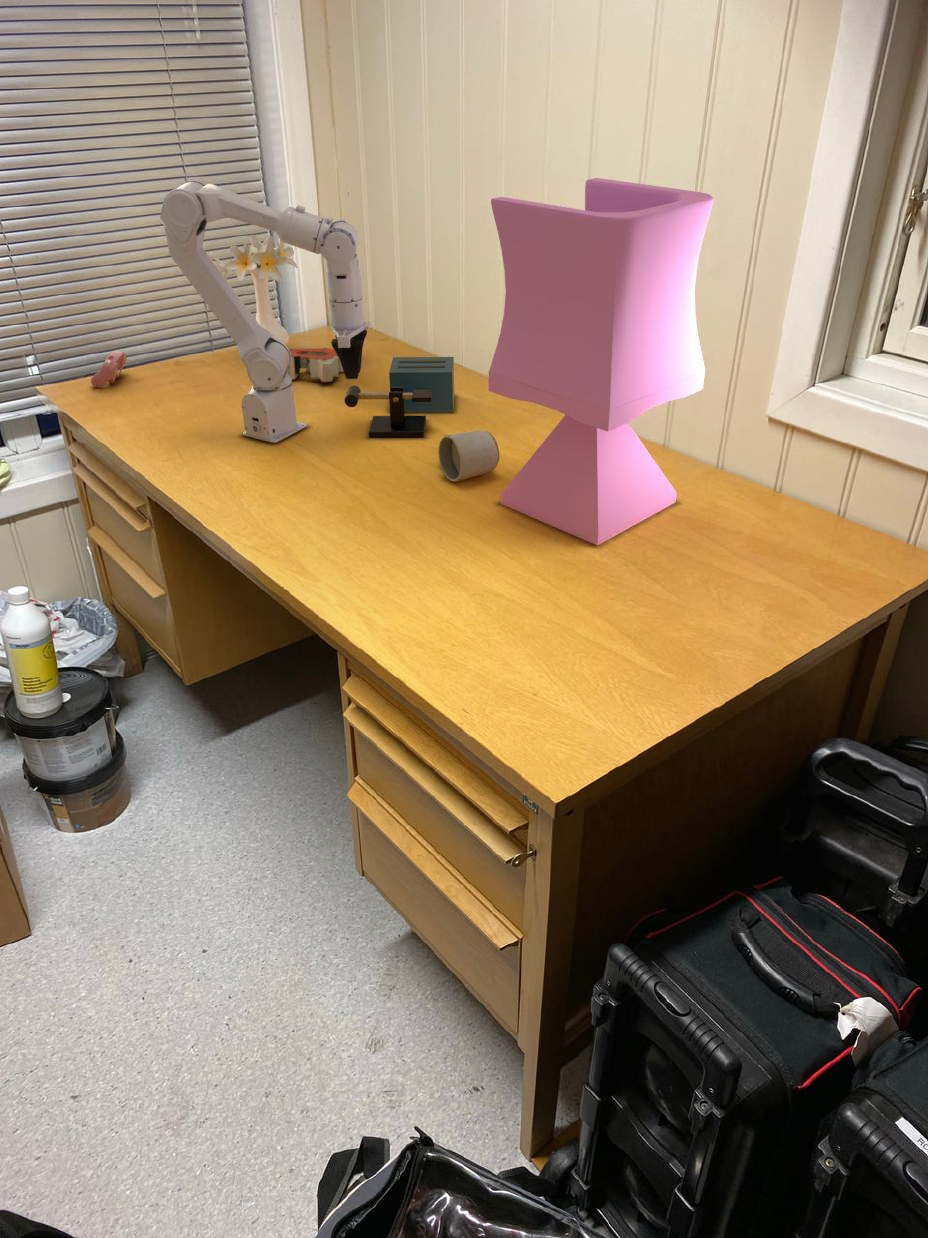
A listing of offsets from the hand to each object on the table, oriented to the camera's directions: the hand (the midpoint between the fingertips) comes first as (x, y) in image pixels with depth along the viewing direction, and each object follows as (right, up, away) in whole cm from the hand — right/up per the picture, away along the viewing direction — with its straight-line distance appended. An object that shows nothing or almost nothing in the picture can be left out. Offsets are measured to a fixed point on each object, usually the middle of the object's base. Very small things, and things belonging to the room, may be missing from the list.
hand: (353, 375), depth 171 cm
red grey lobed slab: (-10, +9, +33) cm, 35 cm away
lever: (+6, -4, +3) cm, 8 cm away
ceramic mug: (+20, -19, -11) cm, 30 cm away
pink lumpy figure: (-55, +7, +30) cm, 63 cm away
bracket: (+8, -9, +6) cm, 13 cm away
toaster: (+12, -1, +16) cm, 20 cm away
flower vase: (-24, +16, +43) cm, 52 cm away
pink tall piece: (+40, -26, -21) cm, 52 cm away
